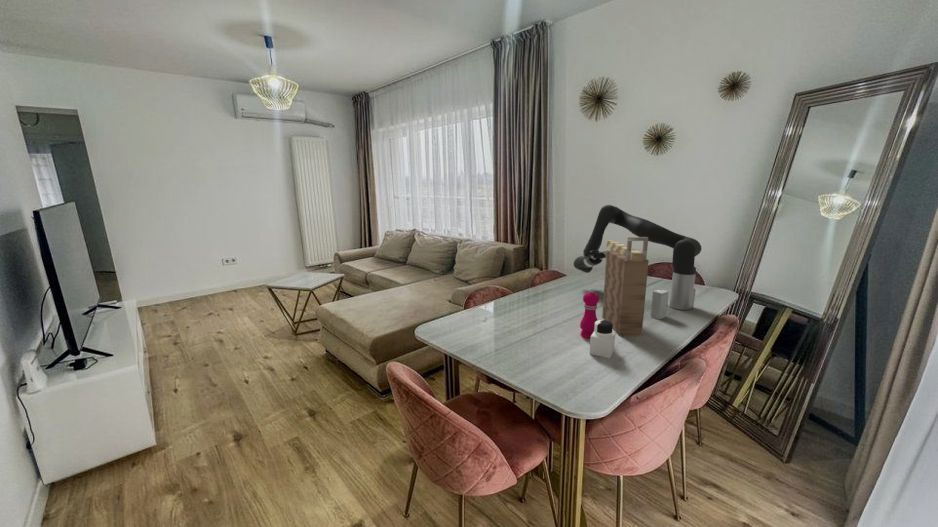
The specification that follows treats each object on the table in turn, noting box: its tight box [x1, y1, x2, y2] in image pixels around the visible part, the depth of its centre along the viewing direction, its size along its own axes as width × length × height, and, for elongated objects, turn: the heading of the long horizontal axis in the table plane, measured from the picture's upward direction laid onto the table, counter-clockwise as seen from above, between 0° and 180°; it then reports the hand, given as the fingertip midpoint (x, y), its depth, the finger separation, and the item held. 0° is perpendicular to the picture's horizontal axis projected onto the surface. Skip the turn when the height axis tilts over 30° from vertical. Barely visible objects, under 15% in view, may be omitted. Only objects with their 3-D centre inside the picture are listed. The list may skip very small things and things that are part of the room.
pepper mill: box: [579, 288, 600, 340], centre depth 142 cm, size 7×7×20 cm
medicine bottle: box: [589, 319, 616, 359], centre depth 130 cm, size 7×7×12 cm
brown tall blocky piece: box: [601, 236, 650, 337], centre depth 149 cm, size 20×9×40 cm, turn 179°
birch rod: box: [606, 239, 643, 261], centre depth 150 cm, size 30×3×3 cm, turn 179°
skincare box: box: [650, 288, 670, 320], centre depth 161 cm, size 6×4×12 cm
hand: (603, 251), depth 173 cm, fingers open, 8 cm apart
